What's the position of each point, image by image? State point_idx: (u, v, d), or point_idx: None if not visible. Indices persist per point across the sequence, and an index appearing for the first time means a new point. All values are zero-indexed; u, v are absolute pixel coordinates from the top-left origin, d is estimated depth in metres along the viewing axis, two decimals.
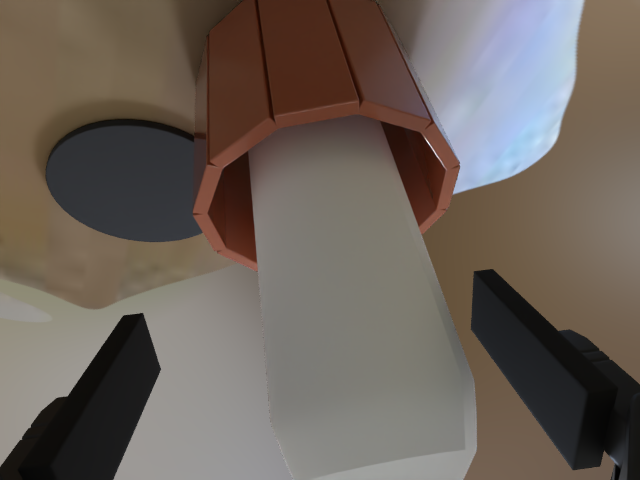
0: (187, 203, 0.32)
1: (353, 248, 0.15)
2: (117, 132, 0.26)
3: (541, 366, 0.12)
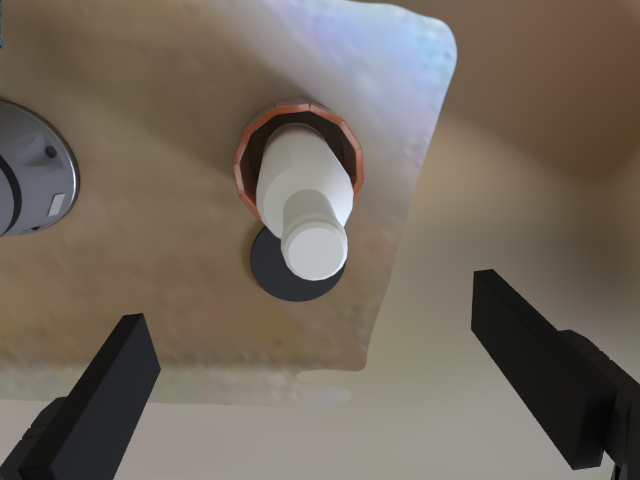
0: None
1: (263, 163, 0.35)
2: (260, 240, 0.53)
3: (541, 366, 0.12)
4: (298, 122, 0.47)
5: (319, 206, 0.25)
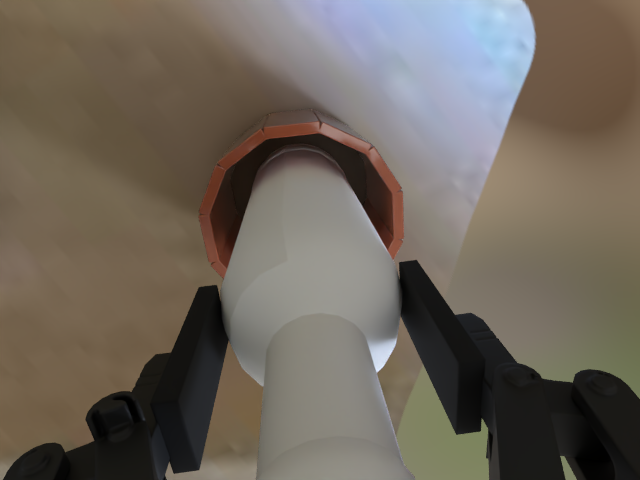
0: None
1: (241, 226, 0.21)
2: None
3: (436, 344, 0.13)
4: (303, 145, 0.32)
5: (349, 398, 0.10)
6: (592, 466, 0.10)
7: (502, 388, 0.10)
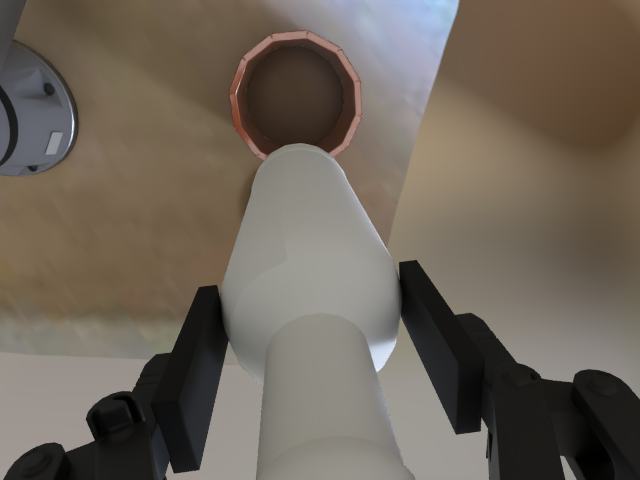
0: None
1: (241, 226, 0.21)
2: None
3: (436, 344, 0.13)
4: (303, 145, 0.32)
5: (348, 398, 0.10)
6: (591, 467, 0.10)
7: (502, 388, 0.10)
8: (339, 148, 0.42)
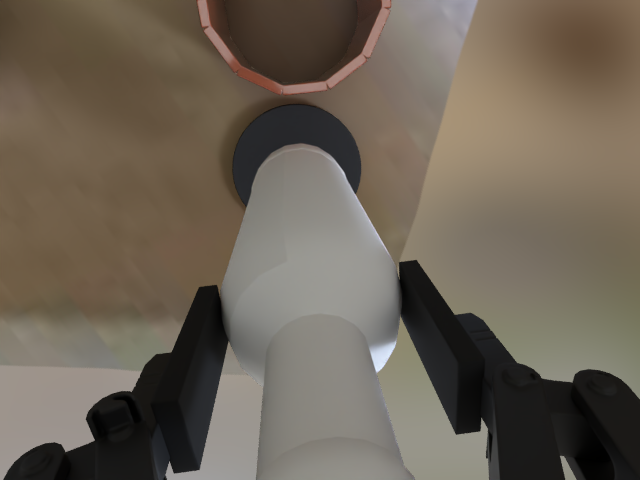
0: None
1: (241, 226, 0.21)
2: (245, 141, 0.39)
3: (436, 344, 0.13)
4: (303, 145, 0.32)
5: (348, 399, 0.10)
6: (591, 467, 0.10)
7: (502, 388, 0.10)
8: (357, 60, 0.29)
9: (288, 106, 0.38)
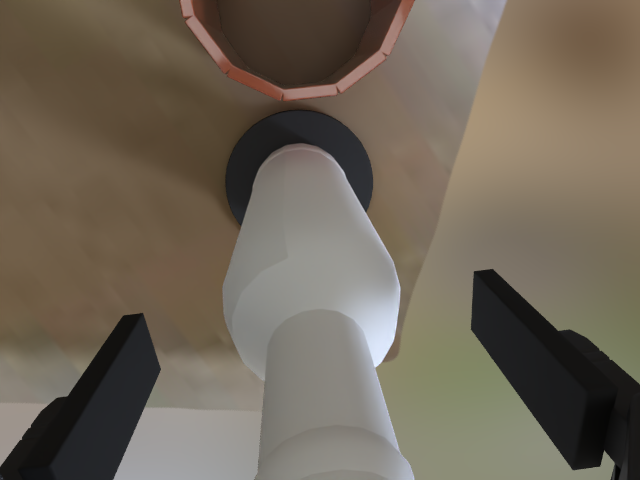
0: None
1: (242, 225, 0.21)
2: (240, 152, 0.34)
3: (541, 366, 0.12)
4: (303, 145, 0.32)
5: (347, 390, 0.10)
6: None
7: None
8: (374, 59, 0.23)
9: (289, 112, 0.33)
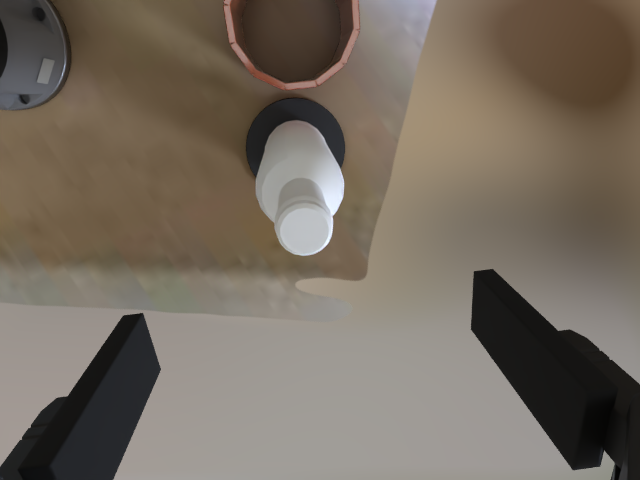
0: None
1: (263, 157, 0.39)
2: (256, 126, 0.52)
3: (541, 366, 0.12)
4: (297, 120, 0.50)
5: (309, 191, 0.28)
6: None
7: None
8: (337, 66, 0.41)
9: (289, 99, 0.51)
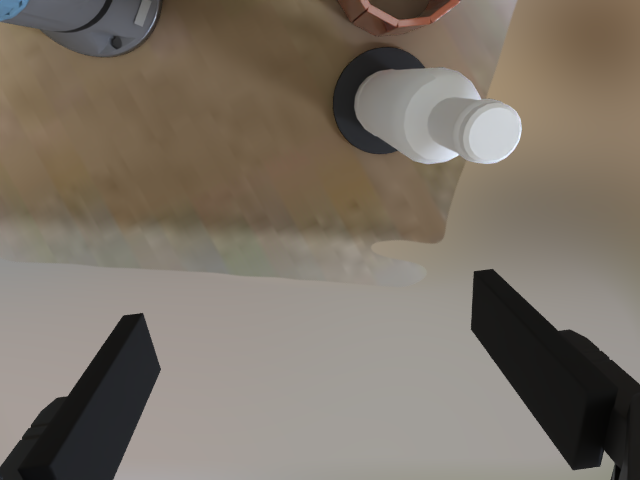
0: None
1: (384, 91, 0.37)
2: (345, 76, 0.50)
3: (541, 366, 0.12)
4: None
5: None
6: None
7: None
8: (453, 1, 0.40)
9: (380, 48, 0.49)
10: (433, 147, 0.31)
